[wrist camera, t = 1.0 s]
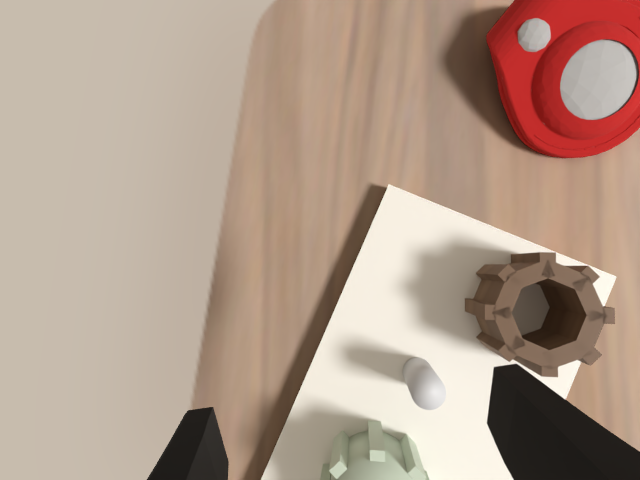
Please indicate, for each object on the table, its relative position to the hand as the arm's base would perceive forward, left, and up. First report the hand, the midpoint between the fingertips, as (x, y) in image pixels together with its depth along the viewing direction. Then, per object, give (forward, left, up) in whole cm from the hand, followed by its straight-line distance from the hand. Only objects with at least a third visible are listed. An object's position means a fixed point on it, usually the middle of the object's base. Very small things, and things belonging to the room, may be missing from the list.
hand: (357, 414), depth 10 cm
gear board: (-5, +2, -13) cm, 14 cm away
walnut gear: (-7, -5, -12) cm, 15 cm away
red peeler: (-7, -19, -14) cm, 24 cm away
